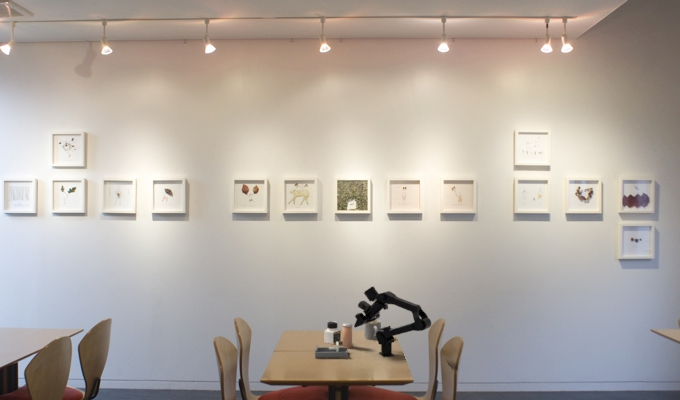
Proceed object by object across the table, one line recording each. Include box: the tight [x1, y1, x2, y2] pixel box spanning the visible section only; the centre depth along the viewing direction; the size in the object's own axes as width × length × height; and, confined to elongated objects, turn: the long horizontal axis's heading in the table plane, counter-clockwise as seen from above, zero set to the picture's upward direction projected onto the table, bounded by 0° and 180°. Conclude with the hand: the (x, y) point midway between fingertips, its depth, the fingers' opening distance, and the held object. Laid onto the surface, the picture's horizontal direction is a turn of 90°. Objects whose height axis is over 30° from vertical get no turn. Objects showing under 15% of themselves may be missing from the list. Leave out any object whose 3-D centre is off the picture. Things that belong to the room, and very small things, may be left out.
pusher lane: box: [314, 345, 349, 359], centre depth 255 cm, size 18×10×4 cm, turn 92°
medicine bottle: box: [323, 320, 342, 345], centre depth 281 cm, size 7×7×12 cm
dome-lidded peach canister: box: [341, 322, 353, 349], centre depth 271 cm, size 6×6×13 cm
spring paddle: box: [328, 342, 340, 352], centre depth 256 cm, size 5×7×6 cm
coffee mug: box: [364, 319, 382, 341], centre depth 289 cm, size 13×10×10 cm
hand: (358, 325), depth 267 cm, fingers open, 9 cm apart
